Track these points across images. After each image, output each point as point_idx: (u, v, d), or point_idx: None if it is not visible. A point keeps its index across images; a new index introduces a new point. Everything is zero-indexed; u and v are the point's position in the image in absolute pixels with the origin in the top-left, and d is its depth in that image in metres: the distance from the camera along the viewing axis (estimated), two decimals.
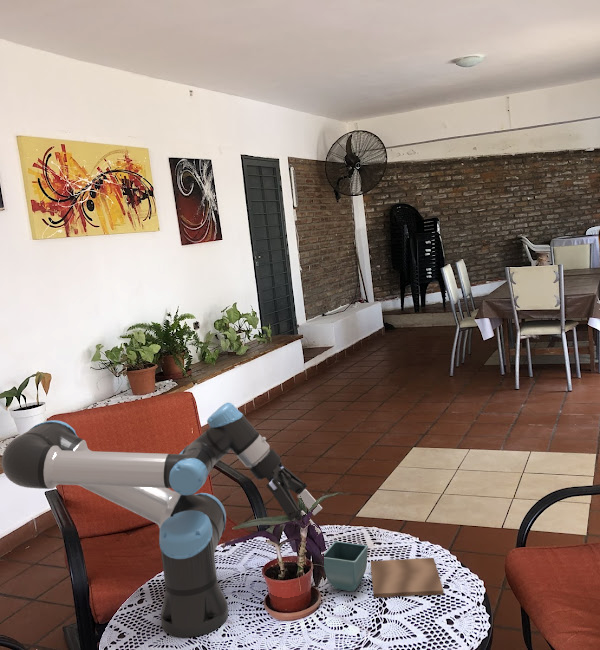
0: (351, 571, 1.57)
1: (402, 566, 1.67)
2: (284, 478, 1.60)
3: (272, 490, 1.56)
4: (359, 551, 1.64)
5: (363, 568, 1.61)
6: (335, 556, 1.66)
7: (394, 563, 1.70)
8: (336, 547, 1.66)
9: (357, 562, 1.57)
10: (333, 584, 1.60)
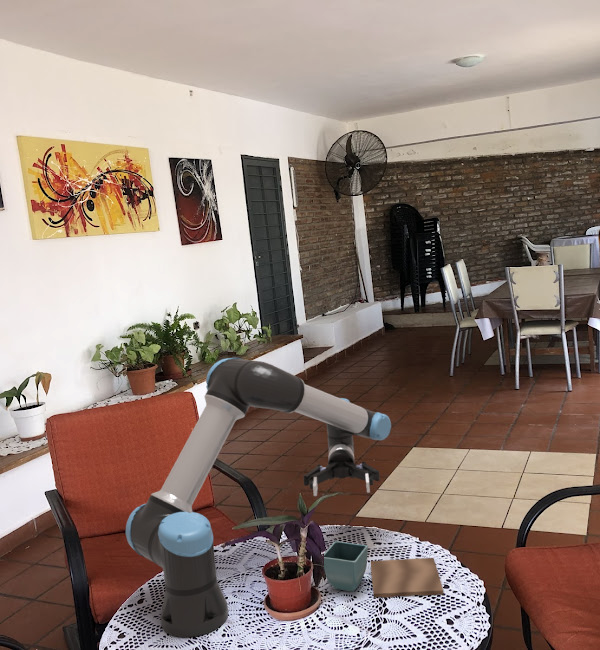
0: (351, 571, 1.57)
1: (402, 566, 1.67)
2: None
3: None
4: (359, 551, 1.64)
5: (363, 568, 1.61)
6: (335, 556, 1.66)
7: (394, 563, 1.70)
8: (336, 547, 1.66)
9: (357, 562, 1.57)
10: (333, 584, 1.60)
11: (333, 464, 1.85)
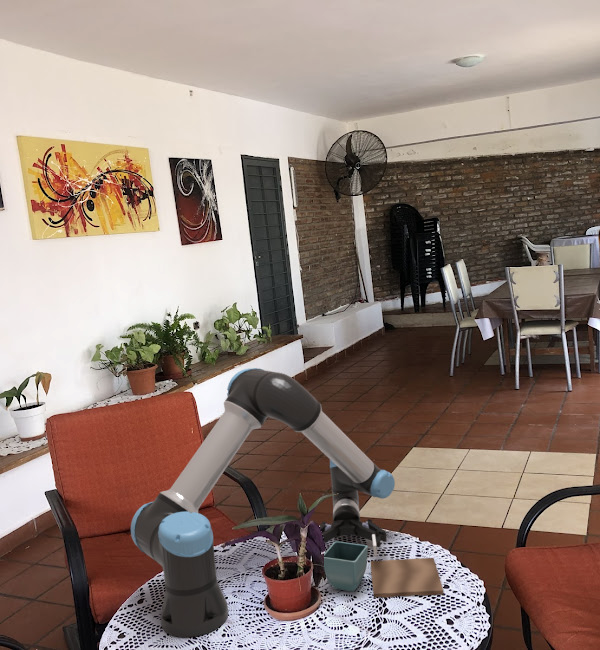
0: (351, 571, 1.57)
1: (402, 566, 1.67)
2: (354, 534, 1.81)
3: None
4: (359, 551, 1.64)
5: (363, 568, 1.61)
6: (335, 556, 1.66)
7: (394, 563, 1.70)
8: (336, 547, 1.66)
9: (357, 562, 1.57)
10: (333, 584, 1.60)
11: (338, 522, 1.81)
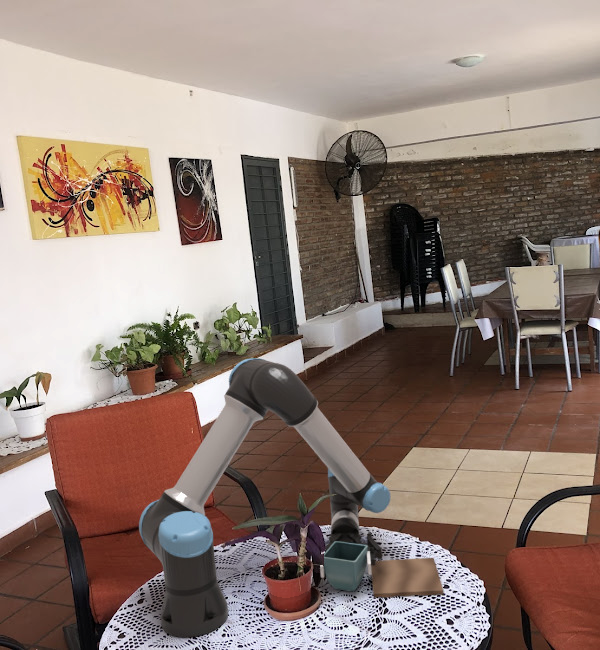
0: (351, 571, 1.57)
1: (402, 566, 1.67)
2: None
3: (371, 538, 1.72)
4: (359, 551, 1.64)
5: (363, 568, 1.61)
6: (335, 556, 1.66)
7: (394, 563, 1.70)
8: (336, 547, 1.66)
9: (357, 562, 1.57)
10: (333, 584, 1.60)
11: (337, 536, 1.72)
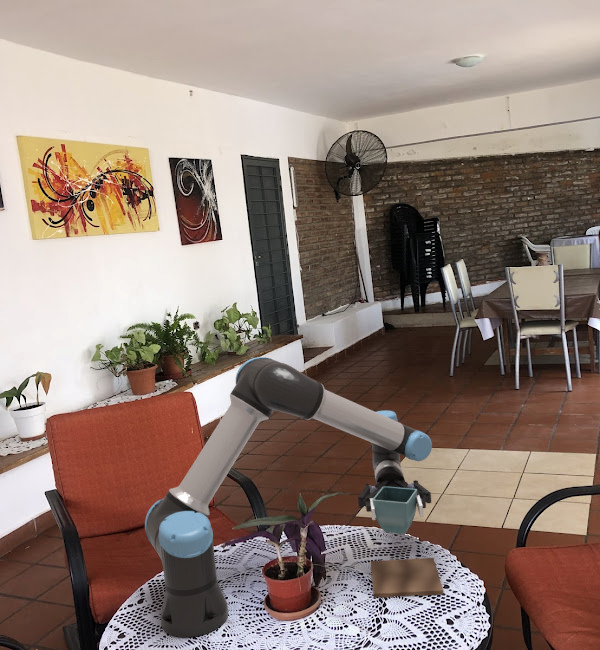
0: (403, 513, 1.56)
1: (402, 566, 1.67)
2: None
3: (418, 484, 1.72)
4: (408, 495, 1.64)
5: (413, 511, 1.61)
6: (384, 501, 1.65)
7: (394, 563, 1.70)
8: (384, 492, 1.66)
9: (409, 504, 1.57)
10: (384, 527, 1.60)
11: (384, 483, 1.72)
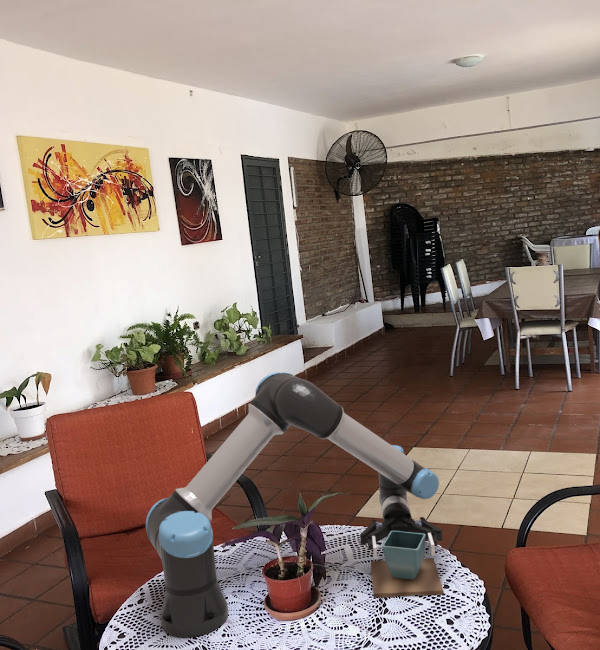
0: (413, 559, 1.58)
1: None
2: None
3: None
4: (417, 539, 1.65)
5: (422, 556, 1.62)
6: (392, 545, 1.66)
7: None
8: (392, 536, 1.67)
9: (419, 550, 1.58)
10: (393, 573, 1.61)
11: (390, 520, 1.73)
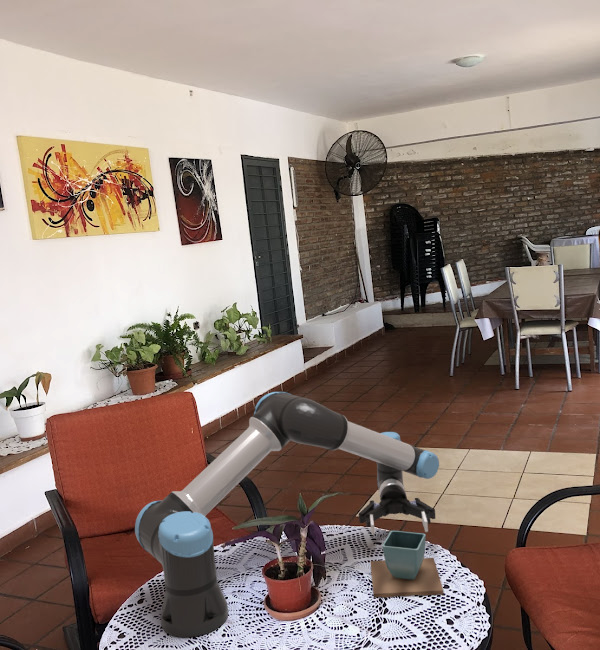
0: (413, 559, 1.58)
1: None
2: (402, 512, 1.86)
3: None
4: (417, 539, 1.65)
5: (422, 556, 1.62)
6: (392, 545, 1.66)
7: None
8: (392, 536, 1.67)
9: (419, 550, 1.58)
10: (393, 573, 1.61)
11: (387, 500, 1.86)
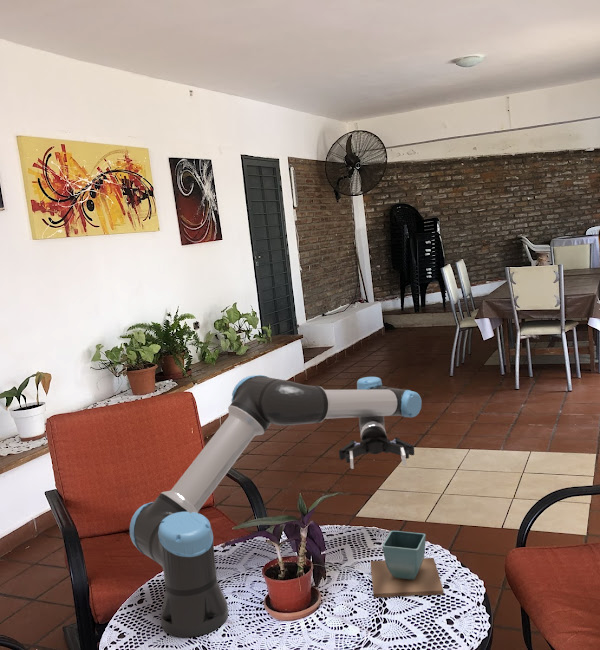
0: (413, 559, 1.58)
1: None
2: None
3: None
4: (417, 539, 1.65)
5: (422, 556, 1.62)
6: (392, 545, 1.66)
7: None
8: (392, 536, 1.67)
9: (419, 550, 1.58)
10: (393, 573, 1.61)
11: (367, 439, 1.88)
